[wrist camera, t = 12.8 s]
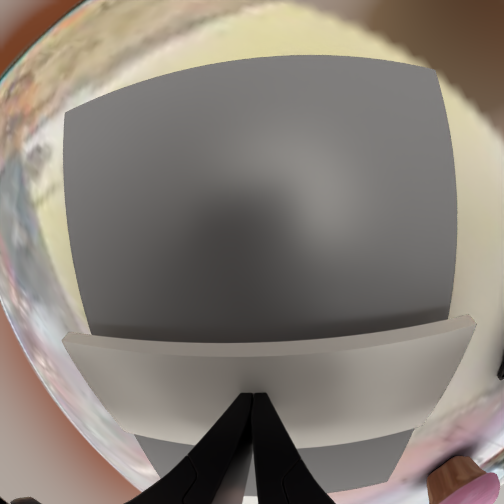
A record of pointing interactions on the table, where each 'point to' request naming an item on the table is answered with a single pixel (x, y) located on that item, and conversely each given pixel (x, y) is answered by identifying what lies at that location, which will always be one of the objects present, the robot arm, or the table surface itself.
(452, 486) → the cupcake
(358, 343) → the panel
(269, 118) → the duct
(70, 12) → the table surface
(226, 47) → the table surface
